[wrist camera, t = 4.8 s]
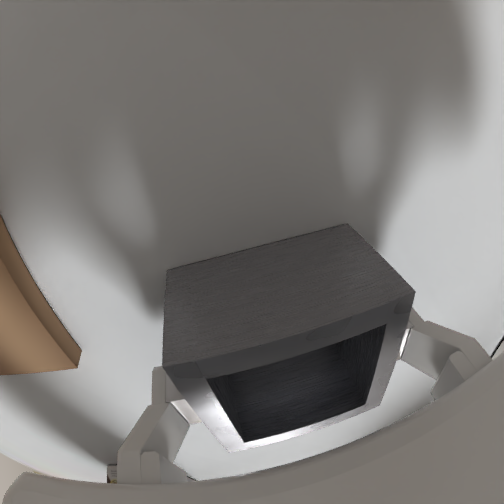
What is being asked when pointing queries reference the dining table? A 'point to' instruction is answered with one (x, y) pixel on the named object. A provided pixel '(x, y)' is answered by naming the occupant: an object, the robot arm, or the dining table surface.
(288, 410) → the steel collar
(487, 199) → the dining table surface
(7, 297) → the stand
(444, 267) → the dining table surface
